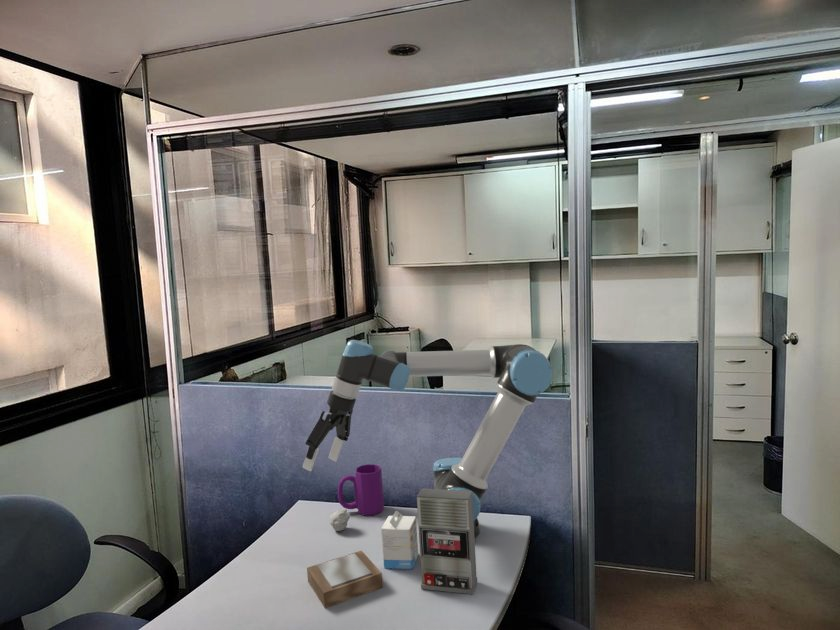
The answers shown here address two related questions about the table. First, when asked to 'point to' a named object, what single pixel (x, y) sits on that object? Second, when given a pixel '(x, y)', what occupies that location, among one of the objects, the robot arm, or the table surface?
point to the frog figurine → (339, 519)
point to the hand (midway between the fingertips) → (320, 464)
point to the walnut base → (344, 578)
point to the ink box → (399, 541)
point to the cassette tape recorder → (447, 540)
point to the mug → (365, 490)
